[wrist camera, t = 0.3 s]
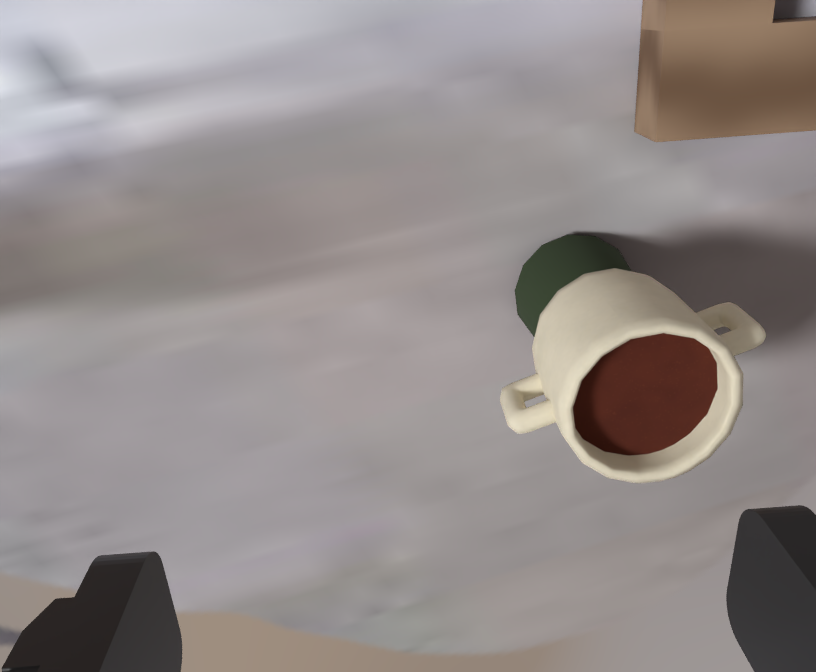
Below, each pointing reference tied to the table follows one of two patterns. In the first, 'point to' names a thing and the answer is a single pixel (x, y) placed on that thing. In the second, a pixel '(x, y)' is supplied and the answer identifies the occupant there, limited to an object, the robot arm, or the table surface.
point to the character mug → (625, 363)
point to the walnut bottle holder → (723, 70)
